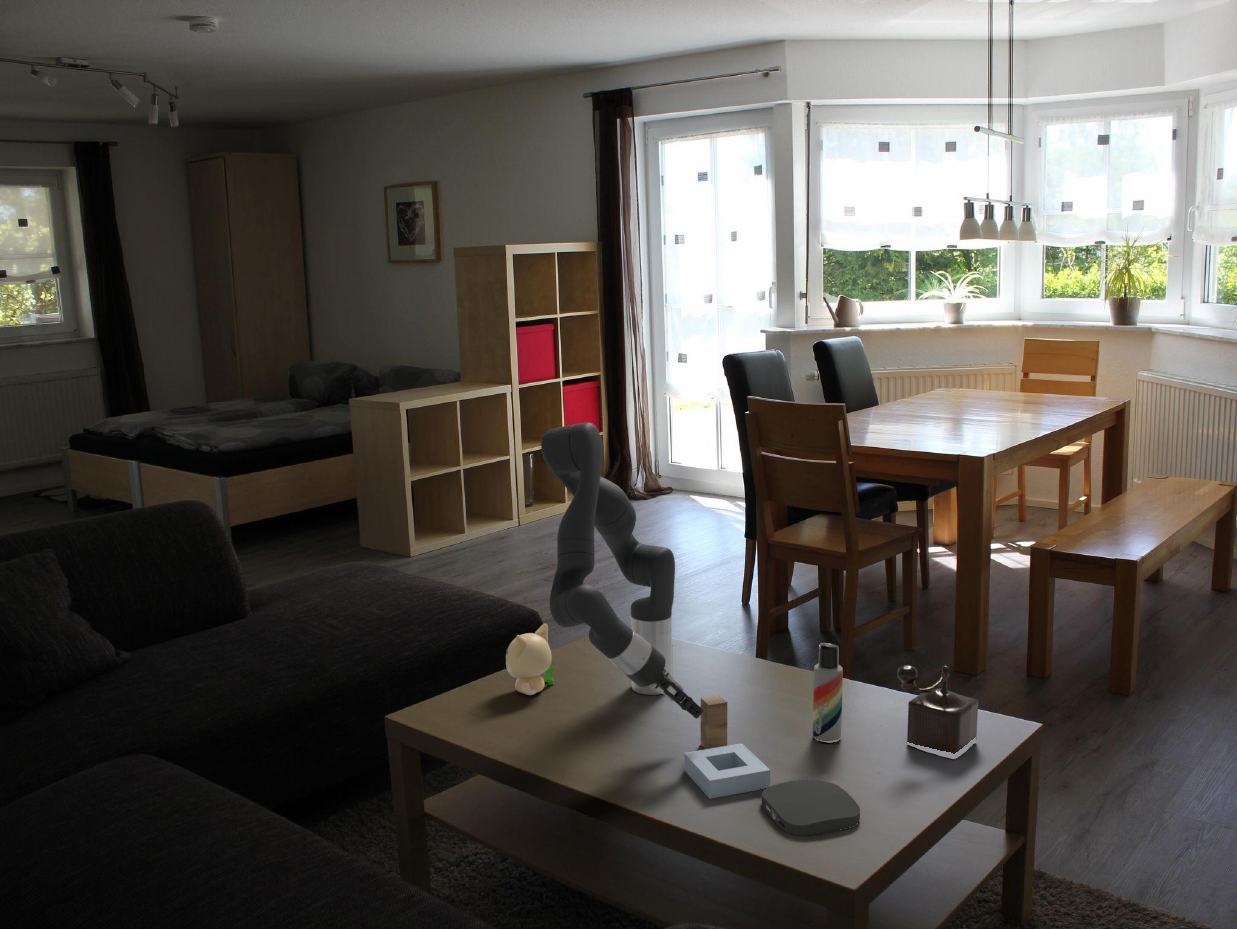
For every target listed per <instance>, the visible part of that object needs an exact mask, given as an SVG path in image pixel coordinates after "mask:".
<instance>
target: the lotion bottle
mask: <svg viewBox="0 0 1237 929" xmlns="http://www.w3.org/2000/svg"><path fill="white" fill-rule="evenodd" d="M839 648H840V647H839V645H837V644H833V643H829V642H828V643H827V642H821V643H820V644H819V645H818V663H816V664H815V665H814V668H813V691H812V694H813V698H812V699H813V700H812V701H813V704H812V737H815V738H816V739H818V740H822V741H833V740H838V739H839V738H840V737H841V738H842V719H843V717H842V716H843V682H844V681H843V679H844V677H843V674H844V672H843V671H844V669H843V667H842V666H841V665H840V664H839V656H840V654H839V652H840V651H839Z"/></svg>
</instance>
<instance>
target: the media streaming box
mask: <svg viewBox="0 0 1237 929" xmlns="http://www.w3.org/2000/svg"><path fill="white" fill-rule="evenodd" d="M761 807H762V809H763V810H764V811H765V812H766V813H767V815H768V816H769V817H770V818H771V820H772V821H774V822H775V824H776V825H777V826H778V827H779V828H780V829H781V830H782V831H784V832H785V833H787V834H791V835H793V836H799V837H806V836H808V835H809V836H814V835H815V834H816V835H820V834H819V833H822V834H826V833H825V832H828V833H832V831H834V832H837V831H836V830H839V831H841V830H840V829H844V830H846V829H845V828H849V827H853V826H855V825H856V824H857V823H858V822H859V820H861V819H860V818H861V809H860V808H861V807H860V806H859V804H858V803H857V802H856V800H855V799H854V798H853V797H852V796H851V795H850V794H849V793H848V792H847V791H846V790H845V789H843V787H841V786H839V785H837V784H836V783H832V782H830V781H827V780H821V779H798V780H797V779H796V780H789V781H785V782H780V783H778V784H773V785H770V787H768V788H766V789H763V791H762V792H761ZM859 823H860V822H859ZM855 827H856V826H855ZM853 828H854V827H853ZM849 829H850V828H849ZM816 835H815V836H816ZM809 836H808V837H809Z"/></svg>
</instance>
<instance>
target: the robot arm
mask: <svg viewBox="0 0 1237 929" xmlns="http://www.w3.org/2000/svg"><path fill="white" fill-rule="evenodd" d="M603 445H604V444H603V441H602V437H601V433H600V431H599V429H598V428H597V426H596V425H595V424H594V423H591V422H580V423H575V424H570V425H563V426H558V427H555V428H552V429H549V430H547V431H546V432H544V433H543V435H542V436H541V441H540V450H541V453H542V458H543V459H544V461H545V464H546V465H547V467H548V468H549V469H550V471H551V473H553V475H554V476H555V477H556V478H557V479H558V481H560V483H561V484H562V486H564V487H565V488H566V489H567V490H568V491H569V493H570V494H571V495H572V496H573V498H572V499H571V501H570V503H569V504H568V507H567V508H566V510H565V512H564V514H563V516H562V518H561V519H560V520H561V521H560V523H559V527H558V530H557V539H556V540H557V543H556V546H557V547H556V550H557V552H556V553H557V557H556V558H557V564H556V565H557V567H556V570H555V573H554V577H553V580H552V585H551V590H550V595H549V610H550V614H551V617H552V620H554V622H555V623H556V624H557V625H558V626H560V627H562V628H573V627H576V626H579V625H583V624H586V625H587V626H589V627H590V629H589V631H588V639H589V641H590V643H591V644H592V646H594V647H595V649H597V650H598V651H599V652H600V653H602V654H603V655H604V656H605V657H607V659H609V661H610V662H611V663H612V664H613V665H614V667H616V668H617V669H618V671H619V670H620V672H621V673H623V674H624V675H625V676H626V677H627V678H628V679H630V680H631V681H630V682H631V689H632V690H633V691H634V692H636V693H637V694H641V695H645V696H647V695H648V696H649V695H650V696H655V695H656V696H657V695H662V694H663V696H665V697H666V698H667V699H668V700H669V701H670V702H672V703H675V704H677V705H678V706H679V707H680V708H681V709H682V710H683V711H686V712H688V714H690V715H691V716H692V717H693V718H695V719H699V718H700V717H701V714H702V713H703V709H702V708H701V705H699V704H697V702H695V701H694V699H693V697H691V696H690V695H688V694H687V693H686V692H685V688H684V687H683V686H682V685H681V684H679V683H678V682H677V681H676V680H675V677H674V674H673V672H674V671H673V669H674V666H673V665H674V663H673V662H674V661H673V658H674V657H673V656H674V655H673V654H674V651H673V650H674V649H673V647H674V646H673V643H672V642H673V641H672V640H673V638H672V637H673V633H672V632H673V631H672V630H673V629H672V628H673V627H672V625H673V624H672V623H673V622H672V621H673V620H672V612H673V611H672V609H673V604H674V599H675V579H676V578H675V577H676V561H675V556H674V553H673V551H672V550H671V549H670V548H669V547H664V546H659V545H652V544H645V543H641V542H639V541H638V540H637V539H636V538H635V536H634V535H633V532H634V530H635V527H636V522H637V512H636V510H635V509H636V508H635V507H634V505H633V503H632V502H631V500H630V499H629V498H628V496H627V494H626V493H625V492H624V490H623V489H622V488H621V487H620V486H619V485H617V484H615V483H614V482H612V481H610V480H609V479H607V478H604V477H602V466H603V457H604V448H603V447H604V446H603ZM595 529H596V531H597V532H598V534H599V535H600V536H601V538H602V539H603V540H604V542H605V544H606V545H607V547H608V548H609V550H610V552H611V553H612V555H613V557H614V559H615V561H616V563H617V566H618V567H619V570H620V571H621V573H622V575H623V577H624V578H625V579H626V580H627V581H628V582H629V583H631V584H634V585H637V586H642V587H649V588H650V593H649V596H645V597H640V598H638V599H636V600H634V601H633V602H632V603H631V605H630V626H629V625H628V624H626V623H625V622H624V621H623V620H622V619H621V618H619V617H618V615H617V613H616V612H615V610H614V608H613V607H612V605H611V604H610V603H609V601H608V600H607V599H606V596H605V595H604V594H603V593H602V592H601V591H600V590H599V589H598V588H596V587H595V586H593V585H591V584H587V583H584V581H585V579H586V577H588V576H589V575H590V574H591V573H592V572H593V571H594V568H595Z"/></svg>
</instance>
